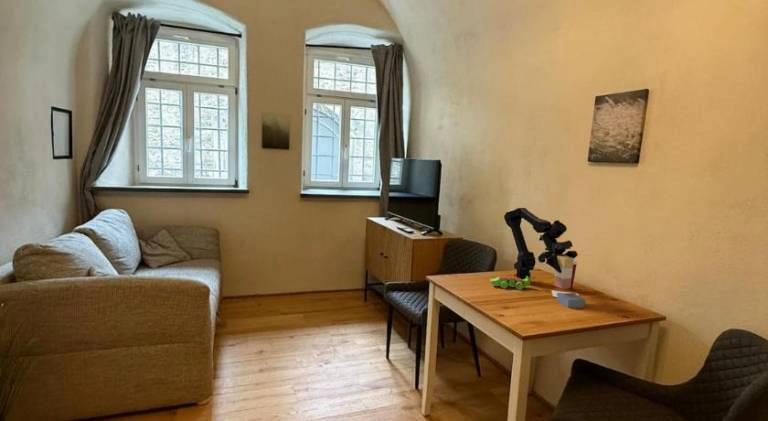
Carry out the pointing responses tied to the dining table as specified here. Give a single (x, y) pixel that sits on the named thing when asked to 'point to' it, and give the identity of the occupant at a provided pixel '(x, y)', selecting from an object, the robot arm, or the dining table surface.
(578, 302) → the base brick
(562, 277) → the brick column
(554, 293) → the page
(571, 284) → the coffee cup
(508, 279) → the green bumpy elongated piece
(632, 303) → the dining table surface
